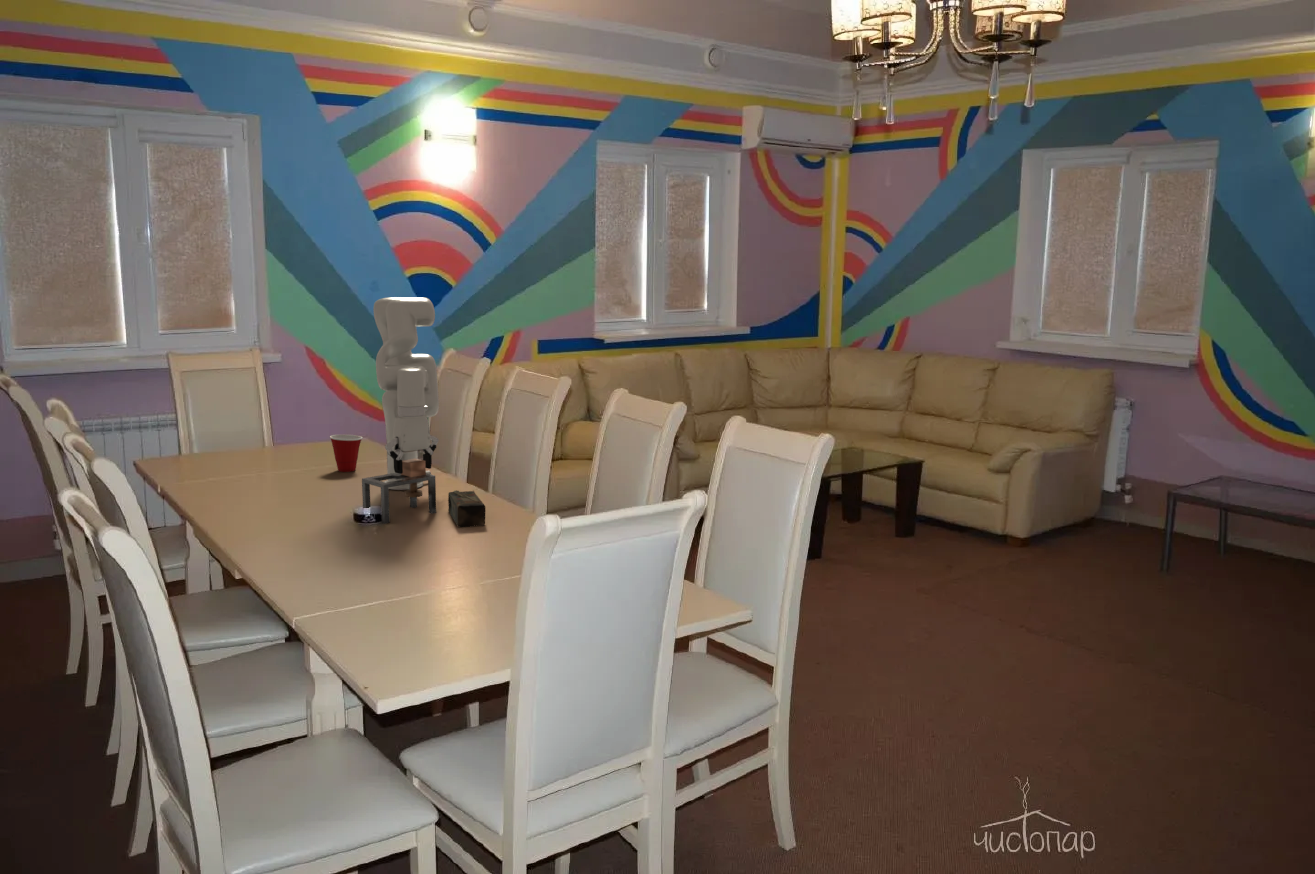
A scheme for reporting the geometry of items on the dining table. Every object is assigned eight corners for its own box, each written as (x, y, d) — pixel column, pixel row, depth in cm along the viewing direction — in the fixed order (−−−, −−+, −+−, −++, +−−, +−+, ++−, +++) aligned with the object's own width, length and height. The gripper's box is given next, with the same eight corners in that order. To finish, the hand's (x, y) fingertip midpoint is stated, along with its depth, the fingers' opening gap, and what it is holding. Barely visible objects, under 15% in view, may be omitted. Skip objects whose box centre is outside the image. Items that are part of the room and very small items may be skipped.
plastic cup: (368, 471, 346) (367, 436, 344) (337, 474, 339) (336, 439, 337) (356, 465, 354) (355, 431, 352) (326, 469, 348) (324, 434, 345)
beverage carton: (475, 509, 297) (475, 488, 296) (486, 526, 279) (486, 503, 278) (447, 511, 294) (447, 489, 293) (457, 529, 277) (457, 505, 275)
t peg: (416, 492, 296) (415, 458, 294) (426, 495, 292) (425, 460, 290) (401, 495, 292) (400, 460, 290) (411, 498, 289) (410, 463, 287)
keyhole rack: (414, 506, 299) (413, 469, 297) (436, 512, 292) (435, 475, 290) (363, 516, 287) (361, 478, 285) (384, 523, 280) (383, 484, 278)
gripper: (429, 407, 296) (430, 464, 300) (377, 413, 284) (379, 472, 287) (444, 410, 292) (445, 468, 295) (392, 416, 279) (394, 477, 282)
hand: (413, 470), depth 291 cm, fingers open, 9 cm apart
